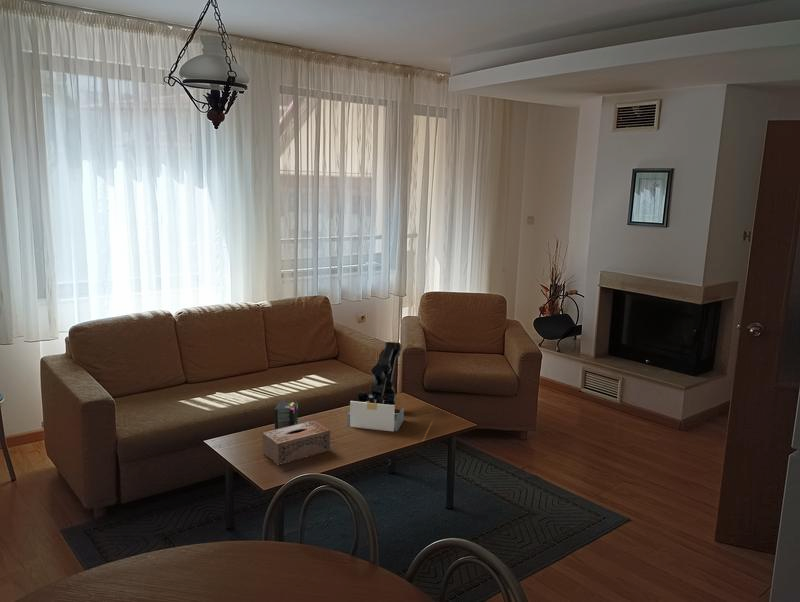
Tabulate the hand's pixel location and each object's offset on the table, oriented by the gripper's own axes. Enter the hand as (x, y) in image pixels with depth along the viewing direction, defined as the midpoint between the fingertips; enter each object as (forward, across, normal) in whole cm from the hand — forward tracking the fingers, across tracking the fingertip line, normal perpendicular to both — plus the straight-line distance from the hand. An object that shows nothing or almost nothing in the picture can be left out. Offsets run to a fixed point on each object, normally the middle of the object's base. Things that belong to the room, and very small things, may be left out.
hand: (373, 413), depth 307 cm
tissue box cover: (+31, -26, -19) cm, 45 cm away
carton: (+1, 0, +9) cm, 10 cm away
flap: (+6, 0, +4) cm, 7 cm away
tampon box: (+18, -38, -7) cm, 43 cm away
